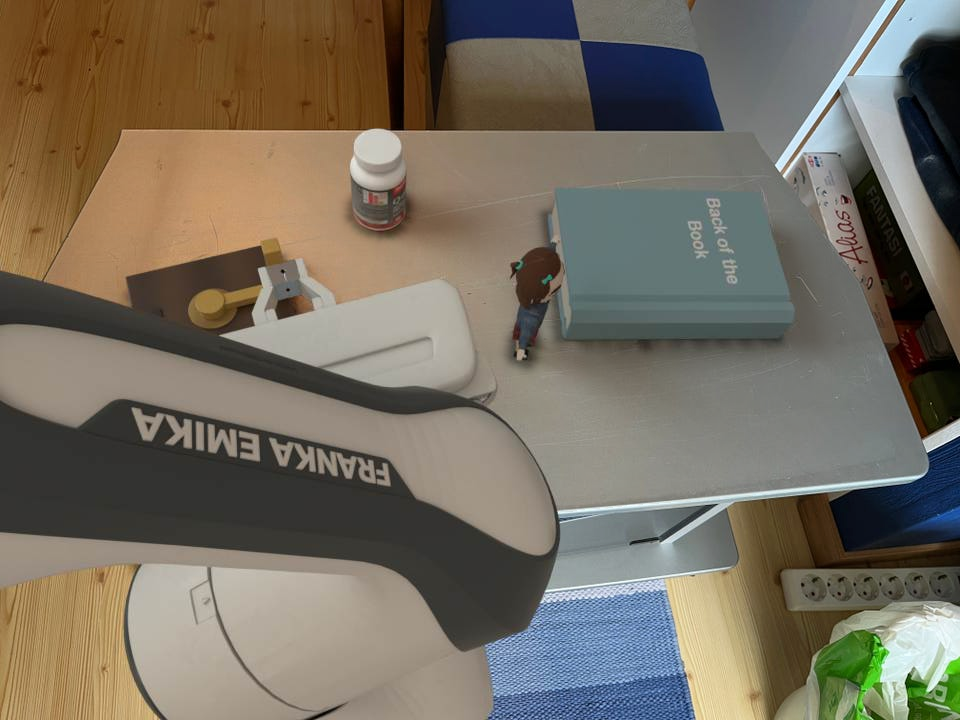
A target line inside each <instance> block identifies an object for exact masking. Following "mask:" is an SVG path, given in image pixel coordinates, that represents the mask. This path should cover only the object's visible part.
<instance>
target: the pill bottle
mask: <svg viewBox="0 0 960 720" xmlns="http://www.w3.org/2000/svg"><path fill="white" fill-rule="evenodd" d="M349 176H350V177H349V178H350V188H351V189H350V190H351V204H352V205H351V206H352V212H353V215H354V218H355V220H356V221H357V222H358V223H359V224H360V225H361V226H363V227H365V228H367V229H369V230H371V231H377V232H378V231H379V232H381V231H388V230H391V229H393V228H395V227H397V226H398V225H399V224H400V223H402V221H403V220H404V218H405V215H406V211H407V210H406V209H407V163H406V160H405V158H404V157H403V146H402V142H401V140H400V138H399V137H398V136H397V135H396V134H395V133H394V132H392V131H390V130H388V129H384V128H371V129H367V130H364V131H363V132H362V133H360V134H359V135H357V137H356V138H355V139H354V143H353V156H352V158H351V160H350V162H349Z"/></svg>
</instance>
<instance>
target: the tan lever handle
mask: <svg viewBox="0 0 960 720" xmlns="http://www.w3.org/2000/svg"><path fill="white" fill-rule="evenodd" d="M259 241H260V242H259V244H260V245H261V247H262V251H263V255H264V258H265V262H266V266H270V265H275V264H279V263H282V262H285V260H284V257H283V252H282V249H281V246H280V242H279V240H278V238H277V237H272V238H268V239H264V240H259ZM261 289H263V286H262V285H258V286H254V287H250V288H246V289H242V290H238V291H234V292H230V293H226V294H221V293H220V292H218V291H216V290H207V291H204V292H202V293H201V294H199V295H198V297H197V299H196V302H195V304H196V308H197V310H198V312H199V314H200V315H201V316H202V317H203V318H205V319H209V320H214V319H217V318H220V317H221V316H222V315H223V314H224V313H225V312H226V310H228V309H232V308H236V307H240V306H244V305H248V304H252V303H256V301H257V299H258V296H259V294H260V291H261Z"/></svg>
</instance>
